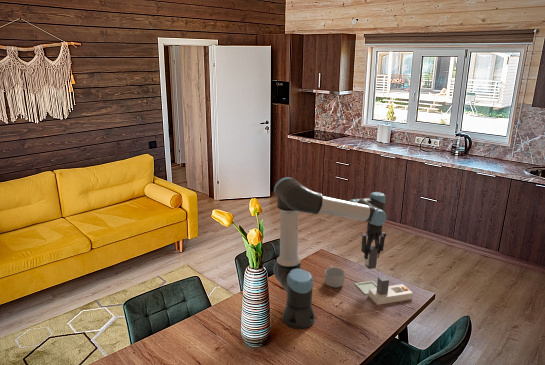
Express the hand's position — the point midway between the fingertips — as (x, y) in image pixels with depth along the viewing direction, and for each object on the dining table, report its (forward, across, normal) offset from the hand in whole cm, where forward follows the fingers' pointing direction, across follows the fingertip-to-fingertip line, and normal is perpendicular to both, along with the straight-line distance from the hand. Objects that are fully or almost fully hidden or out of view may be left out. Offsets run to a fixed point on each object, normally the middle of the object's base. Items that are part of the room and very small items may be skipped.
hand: (370, 263), depth 224 cm
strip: (+15, +6, -11) cm, 19 cm away
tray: (+15, +1, 0) cm, 15 cm away
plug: (+2, 0, 0) cm, 2 cm away
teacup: (+15, -15, +10) cm, 24 cm away
